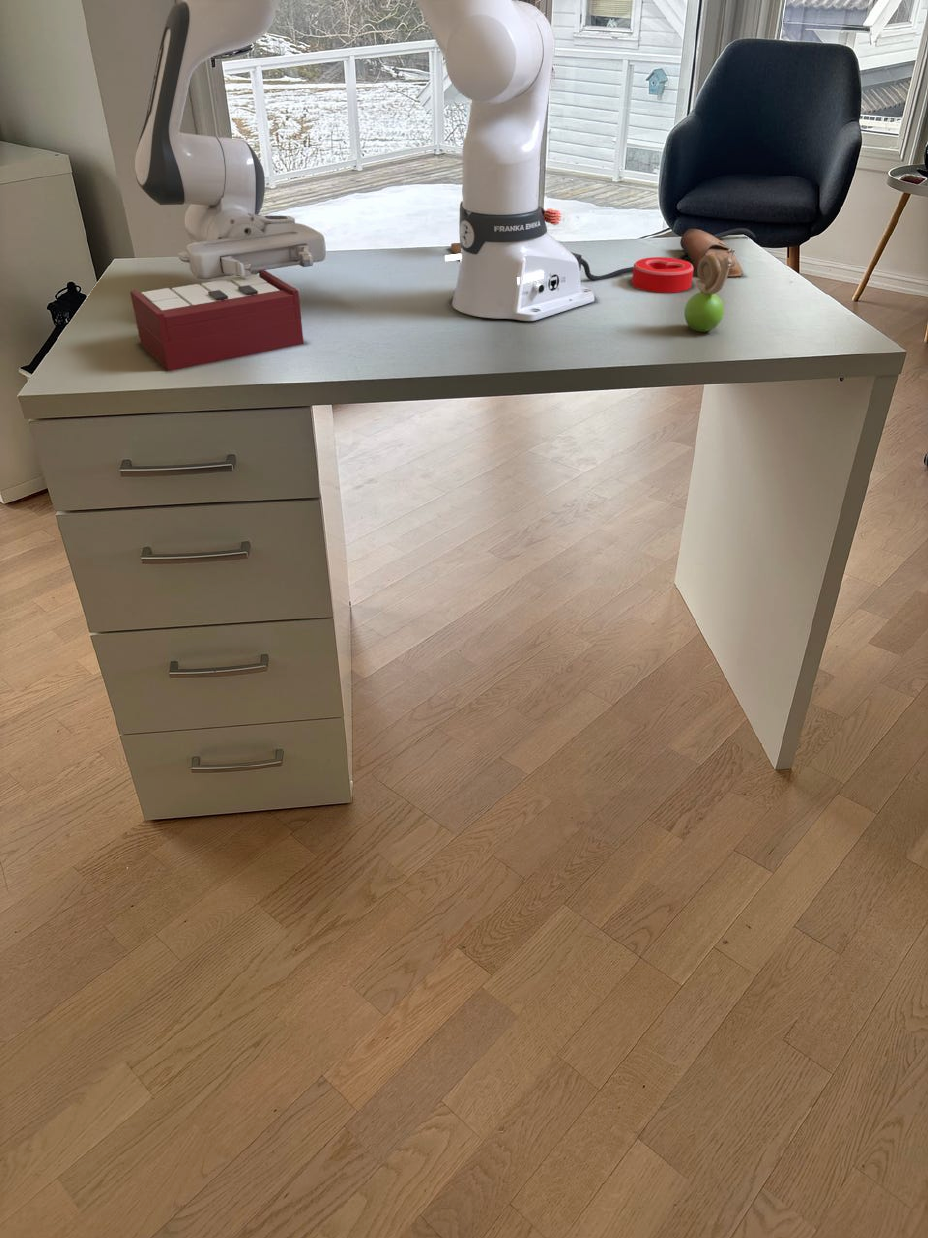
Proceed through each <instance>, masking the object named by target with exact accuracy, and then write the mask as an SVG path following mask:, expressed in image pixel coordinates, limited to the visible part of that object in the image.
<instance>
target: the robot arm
mask: <svg viewBox="0 0 928 1238" xmlns="http://www.w3.org/2000/svg"><path fill="white" fill-rule="evenodd" d="M415 2H416V3H417V6H418V7H419V10H420V11H421V13H422V15H423V17H424V19H425V21H426V23H427V26H428V28H429V31H430V32H431V34H432V37H433V39H434V41H435V43H436V45H437V48H438V49H439V51H440V53H441V55H442V57H443V59H444V64H445V69H446V73H447V76H448V79H449V80H450V82H451V85H453V87H454V88H455V89H456V90H457V91H458V92H459V93H460V94H461V95H462V96H463V97H465V98H467V99H469V100H470V101H471V105H470V111H469V118H468V123H467V129H466V134H465V138H464V140H463V144H462V187H463V196H462V201H463V205H462V206H461V207H460V206H459V230H458V231H459V243H460V244H461V254H455V253H454V254H447V255H444V260H445V262H450V261H459V260H460V261H459V267H458V268H459V269H458V275H457V282H456V287H455V291H454V293H453V294H454V295H453V298H452V301H451V305H452V308H453V309H454V310H457V311H458V312H460V313H462V314H465V315H468V316H473V317H478V318H484V319H497V320H498V319H501V320H502V319H506V320H507V319H508V320H517V321H523V322H536V321H538V320H542V319H544V318H547V317H550V316H554V315H557V314H560V313H563V312H566V311H570V310H572V309H576V308H578V307H582V306H585V305H588V304H591V303H593V302H595V294H594V292H593V291H592V289H590V288H589V287H587V286H585V285H582V283H581V269H582V268H581V267H583V270H584V275H585V277H586V278H587V279H588V280H589V281H591V282H592V281H593V282H596V281H603V280H608V279H612V278H616V277H618V276H621V275H624V274H629V273H633V268H634V266H631V267H630V266H629V267H624V268H620V269H618V270H615V271H612V272H609V273H607V274H604V275H594V274H592V273H591V269H590V264H589V263H588V262H587V261H586V260H585V259H584V258H582V254H579V253H575V252H572V251H570V250H568V249H567V248H566V246H564V245H562V243H560V242H559V241H558V240H557V239H556V238H555V237H553V235H552V234H550V233H549V232H548V228H547V224H546V223H548V224H551V225H553V226H556V225H558V224H560V221H561V218H562V213H561V211H560V210H557V209H553V208H551V207H549V208H547V209H546V210H545V208H544V207H542V206H540V205H539V195H540V173H541V154H542V143H543V135H544V129H545V123H546V118H547V111H548V104H549V97H550V96H549V95H550V90H551V80H552V72H553V71H552V70H553V63H554V59H555V58H554V57H555V53H556V38H555V32H554V30H553V27H552V25H551V23H550V21H549V19H548V18H547V17H546V16H545V14H544V13H543V12H542V11H541V10H540V9H539V8H537V7H536V6H534V5H533V4H531V3H528V2H525V1H522V0H415ZM277 5H278V0H182V1H181V2H177V3H176V4H174V5H172V6H171V9H170V10H169V13H168V15H167V18H166V21H165V24H164V28H163V32H162V37H161V40H160V45H159V50H158V54H157V59H156V65H155V69H154V74H153V80H152V85H151V91H150V96H149V99H148V100H149V101H148V106H147V109H146V110H147V111H146V115H145V121H144V124H143V127H142V129H141V133H140V135H139V141H138V142H137V148H136V153H135V159H134V168H135V178H136V181H137V184H138V185H139V187H140V188H141V189H142V191H143V192H144V193H146V195H147V196H148V197H149V198H150V199H152V200H153V202H155V203H156V204H158V205H160V206H183V205H189V206H188V208H187V209H186V212H185V214H184V228H185V232H186V234H187V237H188V239H189V240H190V242H191V243H189V244H187V245H186V249H185V250H184V251H181V252H178V256H177V257H178V259H179V260H180V261H181V262H183V263H188V266H189V269H190V272H191V273H192V274H193V276H194V277H196V278H197V279H199V280H212V279H217V278H225V277H231V276H236V277H245V276H251V275H253V274H255V275H259V270H265V271H268V270H274V269H281V268H287V267H294V266H300V267H302V268H308V267H313V266H314V263H321V262H323V261H325V259H326V257H327V249H326V240H325V237H324V235H323V234H322V233H321V232H320V231H318V230H316V229H314V228H313V227H310V226H309V225H305V224H302V223H298V222H296V219H295V217H293V216H291V215H263V214H260V212H261V210H262V207H263V204H264V200H265V199H264V198H265V191H266V189H265V188H266V179H265V171H264V168H263V165H262V162H261V161H260V159H259V157H258V155H257V154H256V152H255V150H254V149H253V147H252V146H251V145H250V144H249V143H248V142H247V141H246V140H245V139H238V138H233V137H224V136H215V135H214V136H213V135H211V136H209V135H202V134H193V133H185V132H180V130H181V124H182V120H183V115H184V111H185V105H186V102H187V101H186V100H187V96H188V91H189V87H190V82H191V80H192V79H191V78H192V76H193V73H194V72H195V70H196V69H197V68H198V66H200V65H201V64H202V63H204V62H205V61H207V60H209V59H211V58H213V57H216V56H218V55H220V54H224V53H228V52H232V51H236V50H239V49H243V48H246V47H249V46H250V45H253V44H254V43H255V42H257V41H259V40H260V39H261V38H262V37H263V36H264V35H265V34H267V32H268V31H269V29H270V28H271V26H272V24H273V22H274V19H275V16H276V11H277ZM735 234H736V235H737V234H745V235H747V236H748V237H749V238H751V239H755V238H756V235H755V233H754V232H753V231H751V230H750V229H748V228H743V227H741V228H732V229H728V230H726V231H722V232H719V233H715V234H713V235H712V234H711V235H712V236H714V237H715V238H717V239H719V240H720V239H721V238H726V237H727V236H731V235H735ZM688 258H689V256H688V255H687V253H686V252H685V253H682V254H681V255H679V256H677V257H676V258H675V259H680V260H684V261H685V260H686V259H688Z"/></svg>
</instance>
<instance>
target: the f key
mask: <svg viewBox="0 0 928 1238" xmlns="http://www.w3.org/2000/svg"><path fill="white" fill-rule="evenodd" d="M140 294H141V295H142V296H144V297H145V298H146V299H147V300H148V301H149V302H151V303H152V302H156V301H162V300H168V299H174V298H179V296H178V295H177V294H175V293H174V292H173V291H172V289H170V288H169V287H165V288H159V289H154V290H148V291H142V292H140Z"/></svg>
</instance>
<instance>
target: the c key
mask: <svg viewBox="0 0 928 1238" xmlns="http://www.w3.org/2000/svg"><path fill="white" fill-rule="evenodd" d="M229 281H230V282H232V283H233V284H235V285H236V286H238V287H240V286H247V285H249V286H253V285H259V284H265V283H267V281H265V280H263V279H262V278H260V277H259V275H258V274H256V275H255V274H253V275H251V276H245V277H240V276H235V277H230V278H229Z"/></svg>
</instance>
